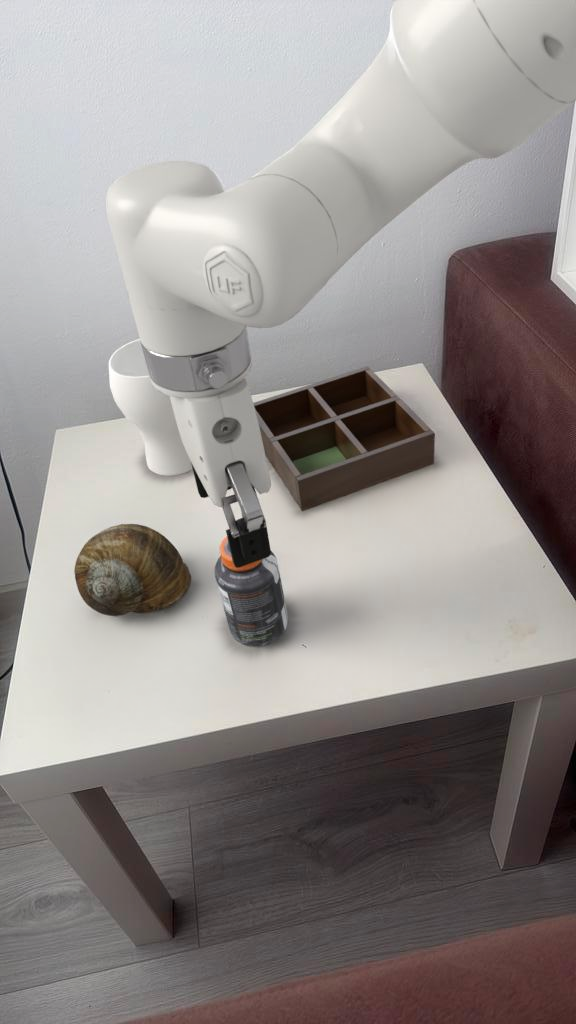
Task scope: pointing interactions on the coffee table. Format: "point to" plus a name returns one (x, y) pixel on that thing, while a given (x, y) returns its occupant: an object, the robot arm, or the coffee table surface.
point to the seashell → (130, 571)
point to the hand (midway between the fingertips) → (233, 524)
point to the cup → (147, 410)
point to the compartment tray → (341, 437)
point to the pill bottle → (251, 598)
